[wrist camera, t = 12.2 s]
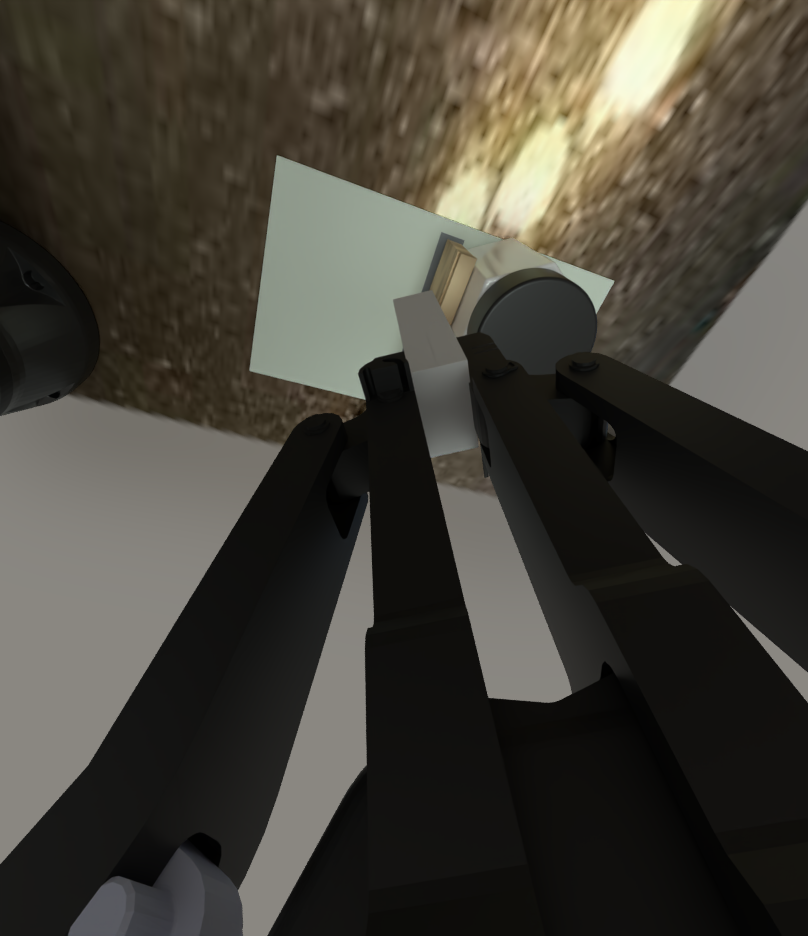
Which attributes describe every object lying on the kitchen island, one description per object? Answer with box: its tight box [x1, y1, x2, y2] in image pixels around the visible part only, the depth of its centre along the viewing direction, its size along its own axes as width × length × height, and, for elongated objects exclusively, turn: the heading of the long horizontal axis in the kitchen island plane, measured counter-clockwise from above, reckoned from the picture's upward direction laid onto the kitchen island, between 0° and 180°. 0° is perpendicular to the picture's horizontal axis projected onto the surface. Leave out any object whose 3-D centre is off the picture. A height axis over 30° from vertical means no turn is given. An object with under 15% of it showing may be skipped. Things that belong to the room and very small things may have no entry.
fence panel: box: [429, 239, 477, 326], centre depth 36 cm, size 11×2×6 cm, turn 161°
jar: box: [450, 238, 597, 375], centre depth 33 cm, size 9×8×12 cm
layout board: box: [249, 155, 614, 400], centre depth 39 cm, size 29×17×1 cm, turn 72°
